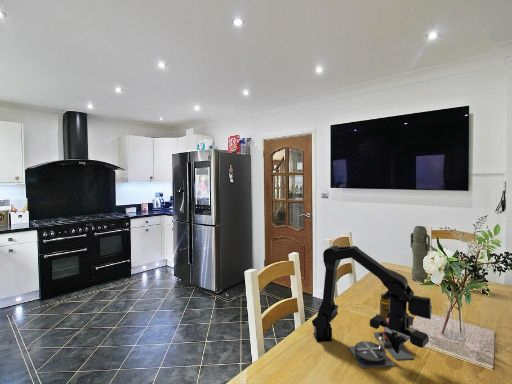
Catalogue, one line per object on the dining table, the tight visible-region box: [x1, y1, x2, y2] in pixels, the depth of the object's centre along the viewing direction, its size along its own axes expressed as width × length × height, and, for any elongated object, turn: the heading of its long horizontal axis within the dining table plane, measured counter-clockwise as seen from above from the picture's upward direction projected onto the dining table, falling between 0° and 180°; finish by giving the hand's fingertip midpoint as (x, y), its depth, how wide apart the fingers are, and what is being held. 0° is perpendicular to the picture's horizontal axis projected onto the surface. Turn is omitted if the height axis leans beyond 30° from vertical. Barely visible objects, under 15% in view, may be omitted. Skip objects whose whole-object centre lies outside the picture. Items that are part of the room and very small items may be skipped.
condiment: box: [375, 293, 389, 318], centre depth 134 cm, size 7×8×12 cm
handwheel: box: [354, 337, 387, 362], centre depth 106 cm, size 11×11×5 cm
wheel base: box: [347, 345, 395, 369], centre depth 107 cm, size 12×12×1 cm
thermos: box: [410, 225, 431, 283], centre depth 182 cm, size 9×12×35 cm
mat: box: [385, 347, 415, 361], centre depth 108 cm, size 7×7×1 cm
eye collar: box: [373, 331, 405, 349], centre depth 116 cm, size 8×8×2 cm
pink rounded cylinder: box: [383, 318, 389, 342], centre depth 116 cm, size 4×4×9 cm
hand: (397, 352), depth 102 cm, fingers closed
